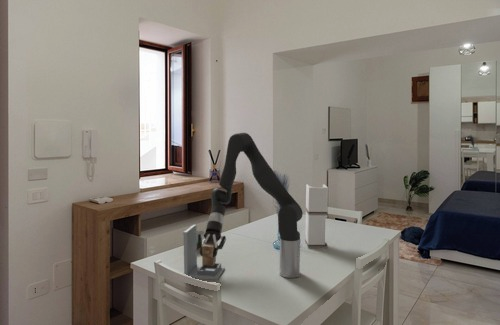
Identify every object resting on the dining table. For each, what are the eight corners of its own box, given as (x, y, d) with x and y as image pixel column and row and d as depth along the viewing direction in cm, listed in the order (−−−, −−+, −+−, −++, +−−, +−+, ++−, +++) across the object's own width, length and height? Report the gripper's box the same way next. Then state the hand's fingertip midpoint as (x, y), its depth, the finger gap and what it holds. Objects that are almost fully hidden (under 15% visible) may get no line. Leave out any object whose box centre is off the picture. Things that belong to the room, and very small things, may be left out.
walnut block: (215, 261, 167) (215, 243, 166) (212, 266, 162) (212, 247, 161) (205, 260, 168) (205, 242, 167) (201, 265, 162) (201, 246, 162)
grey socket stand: (224, 268, 171) (224, 226, 169) (217, 280, 158) (216, 233, 156) (194, 266, 174) (193, 224, 172) (184, 277, 161) (183, 232, 159)
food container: (183, 251, 196) (183, 233, 195) (182, 247, 202) (182, 230, 201) (205, 249, 199) (205, 231, 198) (204, 245, 205) (204, 228, 204)
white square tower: (326, 248, 201) (328, 187, 197) (308, 248, 201) (309, 187, 198) (323, 242, 212) (324, 184, 209) (305, 241, 212) (306, 184, 209)
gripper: (199, 219, 172) (191, 251, 161) (228, 220, 169) (221, 253, 159) (202, 226, 178) (195, 258, 167) (230, 228, 175) (224, 260, 164)
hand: (208, 256), depth 163 cm, fingers closed on walnut block, 5 cm apart
